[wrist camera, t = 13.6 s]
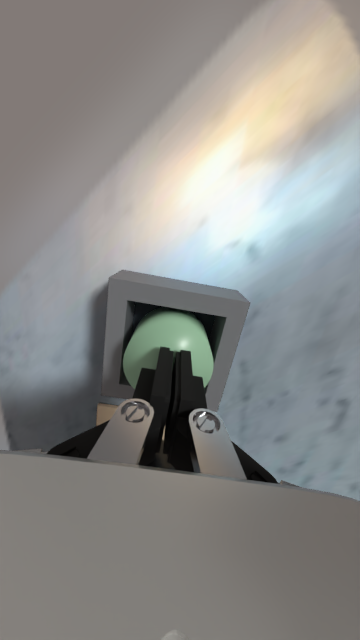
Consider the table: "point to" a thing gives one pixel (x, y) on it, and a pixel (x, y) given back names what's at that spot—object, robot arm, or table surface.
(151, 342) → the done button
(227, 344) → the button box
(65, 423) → the table surface
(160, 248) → the table surface
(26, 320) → the table surface
